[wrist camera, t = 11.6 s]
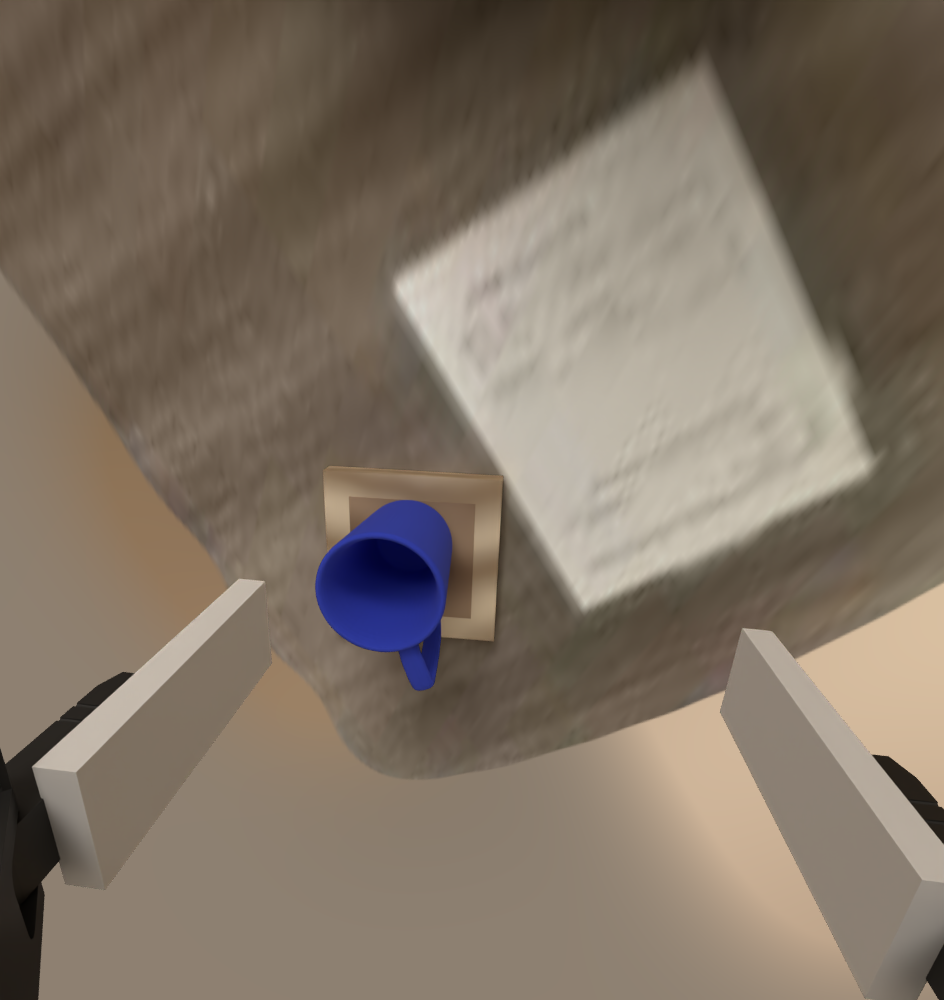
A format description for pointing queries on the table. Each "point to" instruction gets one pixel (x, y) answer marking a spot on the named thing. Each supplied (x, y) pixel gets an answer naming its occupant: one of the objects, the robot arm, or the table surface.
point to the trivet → (463, 507)
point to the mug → (391, 585)
